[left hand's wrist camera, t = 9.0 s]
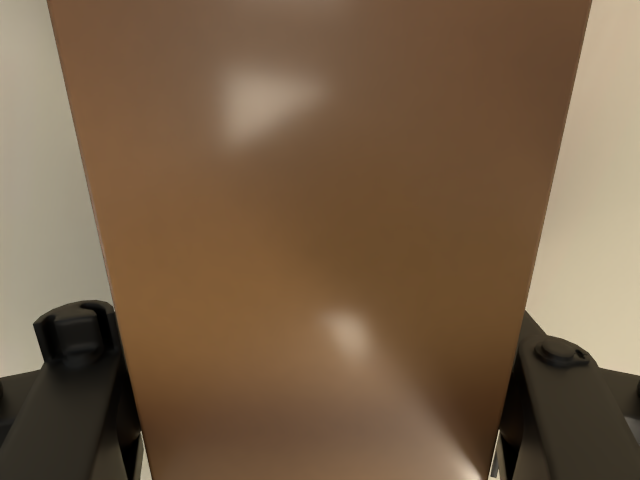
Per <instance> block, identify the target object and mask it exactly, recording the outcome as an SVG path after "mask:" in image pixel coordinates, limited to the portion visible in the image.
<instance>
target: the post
mask: <svg viewBox="0 0 640 480" xmlns="http://www.w3.org/2000/svg"><path fill="white" fill-rule="evenodd" d="M591 3H592V0H47V4H48V9H49V13H50V18H51V22H52V27H53V31H54V36H55V40H56V45H57V49H58V54H59V58H60V63H61V68H62V72H63V77H64V81H65V86H66V90H67V95H68V99H69V104H70V108H71V113H72V118H73V122H74V127H75V131H76V136H77V140H78V145H79V149H80V154H81V158H82V163H83V167H84V172H85V177H86V181H87V186H88V190H89V195H90V199H91V204H92V208H93V213H94V217H95V222H96V227H97V231H98V236H99V240H100V245H101V249H102V254H103V258H104V263H105V267H106V272H107V276H108V281H109V286H110V290H111V295H112V299H113V304H114V308H115V313H116V317H117V322H118V326H119V331H120V336H121V340H122V345H123V349H124V354H125V358H126V363H127V367H128V372H129V376H130V381H131V386H132V390H133V395H134V399H135V404H136V408H137V413H138V417H139V422H140V426H141V431H142V435H143V440H144V445H145V449H146V454H147V458H148V463H149V467H150V472H151V476H152V480H488V476H489V471H490V467H491V462H492V458H493V453H494V448H495V444H496V439H497V435H498V430H499V426H500V421H501V416H502V412H503V407H504V403H505V398H506V393H507V389H508V384H509V380H510V375H511V370H512V366H513V361H514V357H515V352H516V348H517V343H518V338H519V334H520V329H521V325H522V320H523V315H524V311H525V306H526V302H527V297H528V292H529V288H530V283H531V279H532V274H533V270H534V265H535V260H536V256H537V251H538V247H539V242H540V237H541V233H542V228H543V224H544V219H545V214H546V210H547V205H548V201H549V196H550V192H551V187H552V182H553V178H554V173H555V169H556V164H557V159H558V155H559V150H560V146H561V141H562V136H563V132H564V127H565V123H566V118H567V114H568V109H569V104H570V100H571V95H572V91H573V86H574V81H575V77H576V72H577V68H578V63H579V58H580V54H581V49H582V45H583V40H584V36H585V31H586V26H587V22H588V17H589V13H590V8H591Z"/></svg>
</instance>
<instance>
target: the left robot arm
mask: <svg viewBox="0 0 640 480" xmlns="http://www.w3.org/2000/svg"><path fill="white" fill-rule="evenodd" d="M33 326H34V330H35V333H36V336H37V339H38V343H39V346H40V349H41V352H42V356H43V359H44V364H43V366H42V368H41V369H40V370H36V371H32V372H27V373H22V374H17V375H12V376H7V377H2V378H0V480H140V475H141V467H142V459H143V451H144V449H143V442H142V437H141V426H140V422H139V417H138V413H137V408H136V404H135V399H134V395H133V390H132V386H131V381H130V376H129V372H128V367H127V363H126V358H125V354H124V349H123V345H122V340H121V336H120V331H119V326H118V322H117V317H116V313H115V312H114V308H113V306H112V305H110V304H109V303H108V302H104V301H99V300H86V301H79V302H74V303H69V304H66V305H63V306H60V307H58V308H55V309H52V310H51V311H49V312H47V313H45V314H44V315H42V316H40V317H39V318H38V319H37V320H36V321H35V322H34V323H33ZM499 430H500V432H499V437H498V442H497V446H496V451H495V455H494V460H493V465H492V470H491V477H495V478H496V477H497V473H498V469H499V474H500V480H640V376H638V375H633V374H628V373H623V372H618V371H612V370H607V369H603V368H599V367H598V365H597V363H596V361H595V360H594V359H593V358H592V356H591V355H590V354H589V353H588V352H587V351H585V350H584V349H582V348H581V347H579V346H578V345H576V344H574V343H571V342H569V341H567V340H564V339H561V338H557V337H553V336H549V335H546V333H545V332H544V331H543V330H542V329H541V328H540V327H539V325H538V324H537V323H536V322H535V321H534V320H533V319H532V317H531V316H530V315H529V314H528V313H527V312H526V310H525V311H524V315H523V320H522V325H521V329H520V334H519V338H518V343H517V348H516V352H515V357H514V361H513V366H512V370H511V375H510V380H509V384H508V389H507V393H506V398H505V403H504V407H503V412H502V416H501V421H500V426H499Z"/></svg>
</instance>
